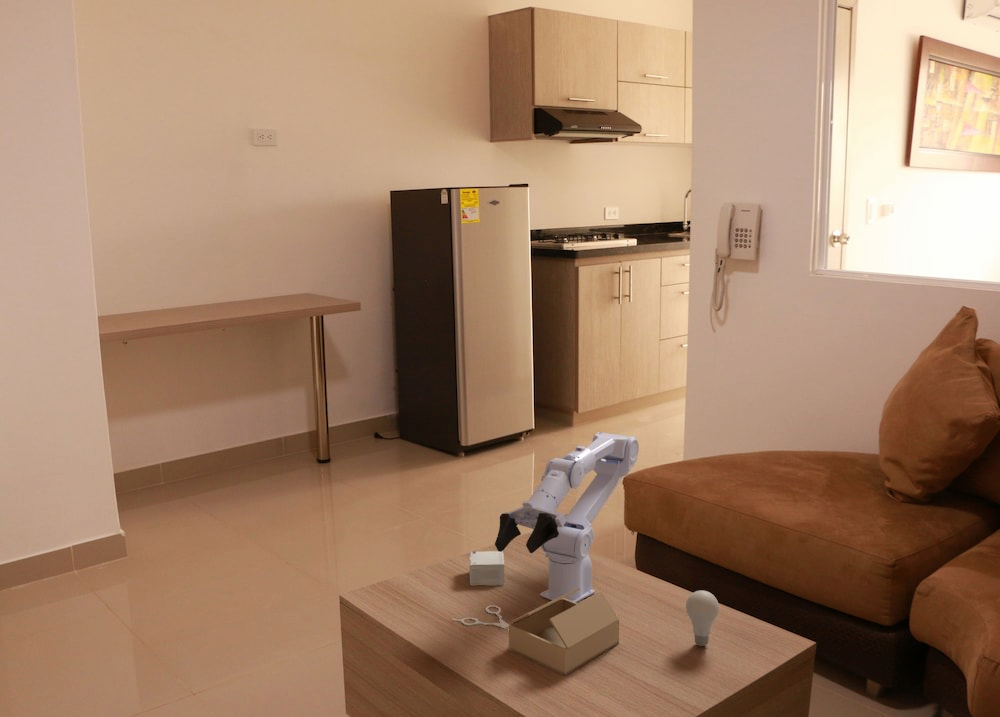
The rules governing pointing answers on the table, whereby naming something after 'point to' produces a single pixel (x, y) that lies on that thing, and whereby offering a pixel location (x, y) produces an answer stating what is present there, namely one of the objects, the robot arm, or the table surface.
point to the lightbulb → (702, 614)
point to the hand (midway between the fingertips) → (513, 548)
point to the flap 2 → (583, 620)
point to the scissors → (501, 624)
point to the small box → (487, 568)
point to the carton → (557, 640)
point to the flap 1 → (545, 605)
